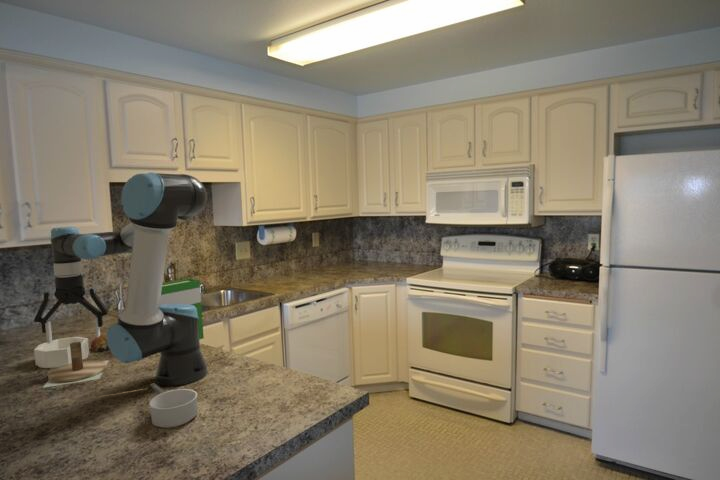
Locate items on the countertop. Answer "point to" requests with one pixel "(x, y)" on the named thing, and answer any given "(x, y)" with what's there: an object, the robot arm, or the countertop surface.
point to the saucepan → (172, 407)
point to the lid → (76, 367)
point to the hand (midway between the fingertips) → (74, 339)
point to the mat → (75, 381)
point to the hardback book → (184, 296)
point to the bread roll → (100, 344)
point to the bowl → (58, 352)
